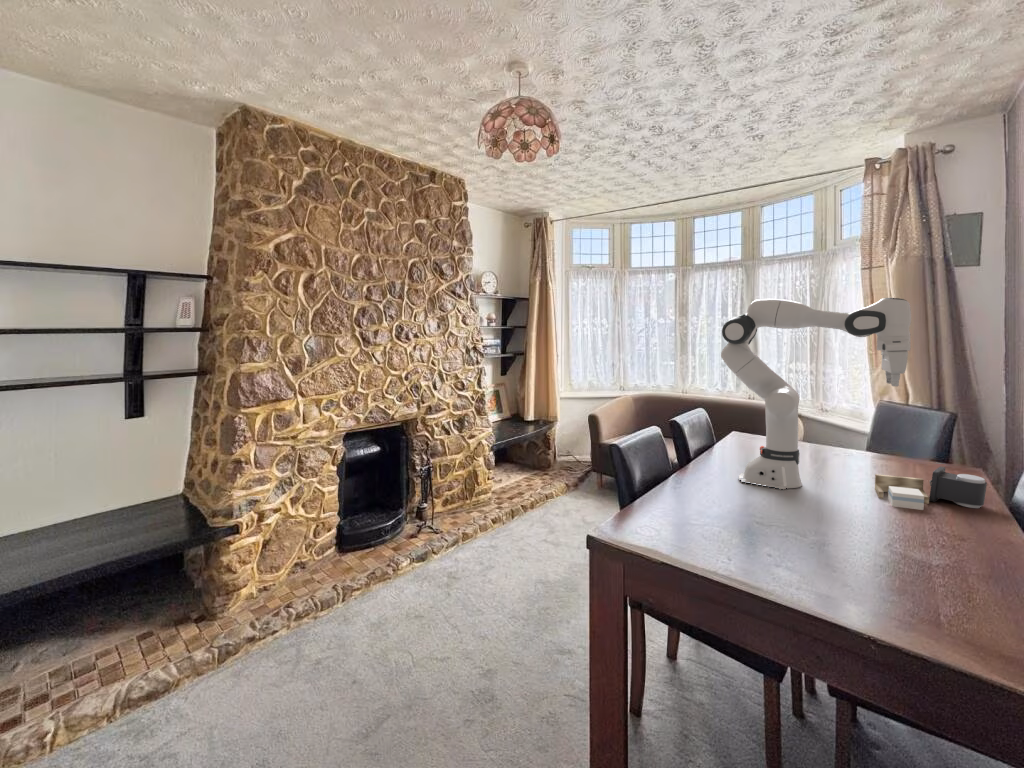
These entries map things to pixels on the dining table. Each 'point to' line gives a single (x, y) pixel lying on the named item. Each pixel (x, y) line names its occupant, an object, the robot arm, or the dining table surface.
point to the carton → (906, 497)
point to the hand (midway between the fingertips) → (892, 384)
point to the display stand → (898, 484)
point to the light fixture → (958, 488)
